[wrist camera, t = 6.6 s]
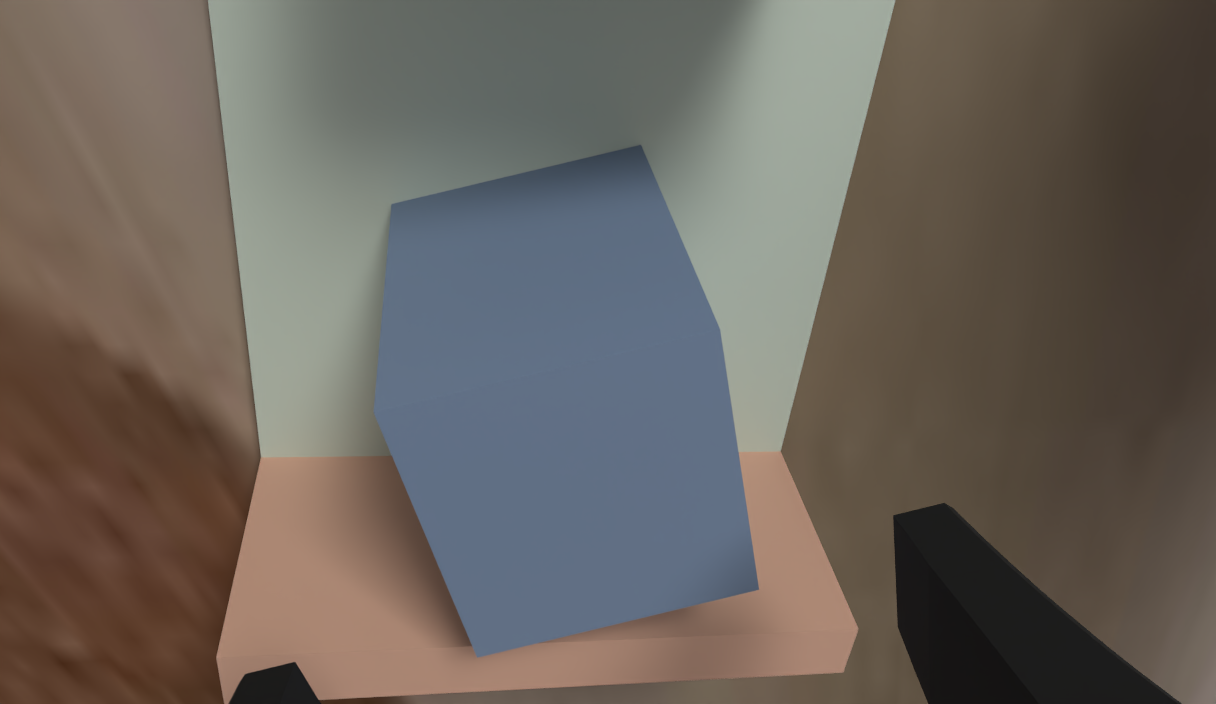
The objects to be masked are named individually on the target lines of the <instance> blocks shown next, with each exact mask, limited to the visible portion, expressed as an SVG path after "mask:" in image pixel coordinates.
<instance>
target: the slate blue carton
mask: <svg viewBox="0 0 1216 704" xmlns="http://www.w3.org/2000/svg"><path fill="white" fill-rule="evenodd" d="M374 415H375V417H376V420H377V422H378V424H379V427H380V429H381V431H382V434H383V436H384V438H385V441H386V443H387V446H388V448H389V450H390V453H391V455H392V457H393V460H394V462H395V464H396V467H397V469H398V472H399V474H400V476H401V479H402V481H403V483H404V486H405V488H406V490H407V493H408V495H409V498H410V500H411V502H412V505H413V507H414V509H415V512H416V514H417V517H418V519H419V521H420V524H421V526H422V528H423V531H424V533H425V535H426V538H427V540H428V543H429V545H430V547H431V550H432V552H433V554H434V557H435V559H436V561H437V564H438V566H439V569H440V571H441V573H442V576H443V578H444V580H445V583H446V585H447V588H448V590H449V592H450V595H451V597H452V599H453V602H454V604H455V606H456V609H457V611H458V614H459V616H460V618H461V621H462V623H463V625H464V628H465V630H466V632H467V635H468V637H469V640H470V642H471V644H472V647H473V649H474V651H475V654H476V656H477V658H478V657H482V656H486V655H491V654H495V653H499V652H503V651H507V650H511V649H516V648H520V647H524V646H528V645H532V644H536V643H540V642H545V641H549V640H553V639H557V638H561V637H565V636H569V635H574V634H578V633H582V632H586V631H590V630H594V629H598V628H603V627H607V626H611V625H615V624H619V623H623V622H627V621H632V620H636V619H640V618H644V617H648V616H652V615H657V614H661V613H665V612H669V611H673V610H677V609H681V608H686V607H690V606H694V605H698V604H702V603H706V602H710V601H715V600H719V599H723V598H727V597H731V596H735V595H739V594H744V593H748V592H752V591H756V590H759V585H758V579H757V572H756V565H755V559H754V552H753V545H752V539H751V532H750V525H749V519H748V512H747V505H746V499H745V492H744V485H743V479H742V472H741V465H740V458H739V452H738V445H737V438H736V432H735V425H734V418H733V412H732V405H731V398H730V392H729V385H728V378H727V372H726V365H725V358H724V352H723V345H722V338H721V331H720V328H719V326H718V323H717V321H716V319H715V316H714V314H713V312H712V309H711V307H710V305H709V302H708V300H707V298H706V295H705V293H704V291H703V288H702V286H701V284H700V281H699V279H698V277H697V274H696V272H695V270H694V267H693V265H692V263H691V260H690V258H689V256H688V253H687V251H686V249H685V246H684V244H683V242H682V239H681V237H680V235H679V232H678V230H677V228H676V225H675V223H674V221H673V218H672V216H671V214H670V211H669V209H668V207H667V204H666V202H665V200H664V197H663V195H662V193H661V190H660V188H659V186H658V183H657V181H656V179H655V176H654V174H653V172H652V169H651V167H650V165H649V162H648V160H647V158H646V155H645V153H644V151H643V148H642V146H641V145H638V146H634V147H629V148H625V149H621V150H617V151H613V152H608V153H604V154H600V155H596V156H592V157H587V158H583V159H579V160H575V161H571V162H566V163H562V164H558V165H554V166H550V167H545V168H541V169H537V170H533V171H528V172H524V173H520V174H516V175H512V176H507V177H503V178H499V179H495V180H491V181H486V182H482V183H478V184H474V185H470V186H465V187H461V188H457V189H453V190H449V191H444V192H440V193H436V194H432V195H427V196H423V197H419V198H415V199H411V200H406V201H402V202H398V203H394V204H391V215H390V226H389V238H388V250H387V261H386V273H385V285H384V296H383V308H382V319H381V331H380V343H379V354H378V366H377V377H376V389H375V401H374Z"/></svg>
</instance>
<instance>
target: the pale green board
mask: <svg viewBox="0 0 1216 704" xmlns="http://www.w3.org/2000/svg"><path fill="white" fill-rule="evenodd" d="M894 4H895V0H208V5H209V14H210V22H211V31H212V40H213V48H214V57H215V65H216V74H217V83H218V91H219V100H220V108H221V117H222V126H223V134H224V143H225V151H226V160H227V169H228V177H229V186H230V194H231V203H232V212H233V220H234V229H235V237H236V246H237V255H238V263H239V272H240V280H241V289H242V298H243V306H244V315H245V323H246V332H247V341H248V349H249V358H250V366H251V375H252V384H253V392H254V401H255V409H256V418H257V426H258V435H259V444H260V452H261V460H260V465H259V469H258V474H257V478H256V482H255V487H254V491H253V496H252V500H251V505H250V509H249V514H248V518H247V523H246V527H245V532H244V536H243V540H242V545H241V549H240V554H239V558H238V563H237V567H236V572H235V576H234V581H233V585H232V590H231V594H230V599H229V603H228V607H227V612H226V616H225V621H224V625H223V630H222V634H221V639H220V643H219V648H218V652H217V657H216V659H217V665H218V671H219V676H220V682H221V688H222V694H223V699H224V704H229V702H230V700H231V698H232V696H233V694H234V692H235V690H236V688H237V686H238V684H239V682H240V681H241V679H242V678H243V676H244V675H245V674H247V673H251V672H255V671H259V670H263V669H267V668H271V667H276V666H280V665H284V664H288V663H292V662H296V664H297V665H298V667H299V669H300V670H301V672H302V673H303V675H304V677H305V678H306V680H307V682H308V683H309V685H310V687H311V688H312V690H313V691H314V693H315V695H316V696H317V698H318V700H327V699H346V698H365V697H384V696H403V695H423V694H442V693H461V692H480V691H499V690H518V689H537V688H557V687H576V686H595V685H614V684H633V683H652V682H671V681H691V680H710V679H729V678H748V677H767V676H786V675H805V674H825V673H843V672H844V669H845V666H846V663H847V660H848V657H849V655H850V652H851V649H852V646H853V643H854V641H855V638H856V635H857V632H858V627H857V624H856V622H855V620H854V618H853V615H852V613H851V611H850V609H849V606H848V604H847V602H846V599H845V597H844V595H843V593H842V590H841V588H840V586H839V583H838V581H837V579H836V577H835V574H834V572H833V570H832V568H831V565H830V563H829V561H828V558H827V556H826V554H825V552H824V549H823V547H822V545H821V542H820V540H819V538H818V536H817V533H816V531H815V529H814V527H813V524H812V522H811V520H810V517H809V515H808V513H807V511H806V508H805V506H804V504H803V501H802V499H801V497H800V495H799V492H798V490H797V488H796V486H795V483H794V481H793V479H792V476H791V474H790V472H789V470H788V467H787V465H786V463H785V460H784V458H783V456H782V454H781V448H782V444H783V440H784V436H785V432H786V428H787V424H788V420H789V416H790V412H791V408H792V404H793V401H794V397H795V393H796V389H797V385H798V381H799V377H800V373H801V369H802V365H803V361H804V357H805V353H806V349H807V346H808V342H809V338H810V334H811V330H812V326H813V322H814V318H815V314H816V310H817V306H818V302H819V298H820V294H821V290H822V287H823V283H824V279H825V275H826V271H827V267H828V263H829V259H830V255H831V251H832V247H833V243H834V239H835V235H836V232H837V228H838V224H839V220H840V216H841V212H842V208H843V204H844V200H845V196H846V192H847V188H848V184H849V180H850V176H851V173H852V169H853V165H854V161H855V157H856V153H857V149H858V145H859V141H860V137H861V133H862V129H863V125H864V121H865V118H866V114H867V110H868V106H869V102H870V98H871V94H872V90H873V86H874V82H875V78H876V74H877V70H878V66H879V62H880V59H881V55H882V51H883V47H884V43H885V39H886V35H887V31H888V27H889V23H890V19H891V15H892V11H893V7H894ZM638 145H641V146H642V148H643V151H644V153H645V155H646V158H647V160H648V162H649V165H650V167H651V169H652V172H653V174H654V176H655V179H656V181H657V183H658V186H659V188H660V190H661V193H662V195H663V197H664V200H665V202H666V204H667V207H668V209H669V211H670V214H671V216H672V218H673V221H674V223H675V225H676V228H677V230H678V232H679V235H680V237H681V239H682V242H683V244H684V246H685V249H686V251H687V253H688V256H689V258H690V260H691V263H692V265H693V267H694V270H695V272H696V274H697V277H698V279H699V281H700V284H701V286H702V288H703V291H704V293H705V295H706V298H707V300H708V302H709V305H710V307H711V309H712V312H713V314H714V316H715V319H716V321H717V323H718V326H719V328H720V331H721V338H722V345H723V352H724V358H725V365H726V372H727V378H728V385H729V392H730V398H731V405H732V412H733V418H734V425H735V432H736V438H737V445H738V452H739V458H740V465H741V472H742V479H743V485H744V492H745V499H746V505H747V512H748V519H749V525H750V532H751V539H752V545H753V552H754V559H755V565H756V572H757V579H758V585H759V590H756V591H752V592H748V593H744V594H739V595H735V596H731V597H727V598H723V599H719V600H715V601H710V602H706V603H702V604H698V605H694V606H690V607H686V608H681V609H677V610H673V611H669V612H665V613H661V614H657V615H652V616H648V617H644V618H640V619H636V620H632V621H627V622H623V623H619V624H615V625H611V626H607V627H603V628H598V629H594V630H590V631H586V632H582V633H578V634H574V635H569V636H565V637H561V638H557V639H553V640H549V641H545V642H540V643H536V644H532V645H528V646H524V647H520V648H516V649H511V650H507V651H503V652H499V653H495V654H491V655H486V656H482V657H478V658H477V656H476V654H475V651H474V649H473V647H472V644H471V642H470V640H469V637H468V635H467V632H466V630H465V628H464V625H463V623H462V621H461V618H460V616H459V614H458V611H457V609H456V606H455V604H454V602H453V599H452V597H451V595H450V592H449V590H448V588H447V585H446V583H445V580H444V578H443V576H442V573H441V571H440V569H439V566H438V564H437V561H436V559H435V557H434V554H433V552H432V550H431V547H430V545H429V543H428V540H427V538H426V535H425V533H424V531H423V528H422V526H421V524H420V521H419V519H418V517H417V514H416V512H415V509H414V507H413V505H412V502H411V500H410V498H409V495H408V493H407V490H406V488H405V486H404V483H403V481H402V479H401V476H400V474H399V472H398V469H397V467H396V464H395V462H394V460H393V457H392V455H391V453H390V450H389V448H388V446H387V443H386V441H385V438H384V436H383V434H382V431H381V429H380V427H379V424H378V422H377V420H376V417H375V415H374V401H375V389H376V377H377V366H378V354H379V343H380V331H381V319H382V308H383V296H384V285H385V273H386V261H387V250H388V238H389V226H390V215H391V204H394V203H398V202H402V201H406V200H411V199H415V198H419V197H423V196H427V195H432V194H436V193H440V192H444V191H449V190H453V189H457V188H461V187H465V186H470V185H474V184H478V183H482V182H486V181H491V180H495V179H499V178H503V177H507V176H512V175H516V174H520V173H524V172H528V171H533V170H537V169H541V168H545V167H550V166H554V165H558V164H562V163H566V162H571V161H575V160H579V159H583V158H587V157H592V156H596V155H600V154H604V153H608V152H613V151H617V150H621V149H625V148H629V147H634V146H638Z"/></svg>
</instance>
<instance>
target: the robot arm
mask: <svg viewBox="0 0 1216 704" xmlns="http://www.w3.org/2000/svg"><path fill="white" fill-rule="evenodd" d="M893 519H894V544H895V569H896V593H897V618H898V628H899V631H900V634H901V636H902V639H903V641H904V644H905V646H906V649H907V652H908V654H909V657H910V659H911V662H912V664H913V667H914V669H915V672H916V674H917V677H918V679H919V682H920V684H921V687H922V689H923V692H924V694H925V697H926V699H927V701H928V704H1181V703H1180V702H1179V701H1177V700H1176V699H1175V698H1173V697H1172V696H1171V695H1169V694H1168V693H1167V692H1165V691H1164V690H1163V689H1162V688H1160V687H1159V686H1158V685H1156V684H1155V683H1154V682H1152V681H1151V680H1150V679H1148V678H1147V677H1146V676H1144V675H1143V674H1142V673H1140V672H1139V671H1138V670H1136V669H1135V668H1134V667H1133V666H1131V665H1130V664H1129V663H1128V662H1126V661H1125V660H1124V659H1123V658H1121V657H1120V656H1119V655H1117V654H1116V653H1115V652H1114V651H1112V650H1111V649H1110V648H1109V647H1107V646H1106V645H1105V644H1104V643H1103V642H1101V641H1100V640H1099V639H1098V638H1097V637H1095V636H1094V635H1093V634H1092V633H1091V632H1089V631H1088V630H1087V629H1086V628H1085V627H1083V626H1082V625H1081V624H1080V623H1079V622H1077V621H1076V620H1075V619H1074V618H1073V617H1071V616H1070V615H1069V614H1068V613H1067V612H1065V611H1064V610H1063V609H1062V608H1060V607H1059V606H1058V605H1057V604H1056V603H1055V602H1054V601H1052V600H1051V599H1050V598H1049V597H1048V596H1047V595H1046V594H1044V593H1043V592H1042V591H1041V590H1040V589H1039V588H1038V587H1036V586H1035V585H1034V584H1033V583H1032V582H1031V581H1030V580H1029V579H1027V578H1026V577H1025V576H1024V575H1023V574H1022V573H1021V572H1020V571H1019V570H1018V569H1016V568H1015V567H1014V566H1013V565H1012V564H1011V563H1010V562H1009V561H1008V560H1007V559H1005V558H1004V557H1003V556H1002V555H1001V554H1000V553H999V552H998V551H997V550H996V549H995V548H994V547H993V546H992V545H990V544H989V543H988V542H987V541H986V540H985V539H984V538H983V537H982V536H981V535H980V534H979V533H978V532H977V531H976V530H975V529H974V528H973V527H972V526H971V525H970V524H969V523H968V522H967V521H966V520H965V519H963V518H962V517H961V516H960V515H959V514H958V513H957V512H956V511H955V510H954V509H953V508H952V507H950V506H948V505H947V504H945V503H942V504H938V505H934V506H930V507H926V508H922V509H918V510H914V511H909V512H905V513H901V514H897V515H893ZM229 704H321V703H320V701H319V700H318V698H317V696H316V695H315V693H314V691H313V690H312V688H311V687H310V685H309V683H308V682H307V680H306V678H305V677H304V675H303V673H302V672H301V670H300V669H299V667H298V665H297V664H296V662H292V663H288V664H284V665H280V666H276V667H271V668H267V669H263V670H259V671H255V672H251V673H247V674H245V675H244V676H243V678H242V679H241V681H240V682H239V684H238V686H237V688H236V690H235V692H234V694H233V696H232V698H231V700H230V702H229Z"/></svg>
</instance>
